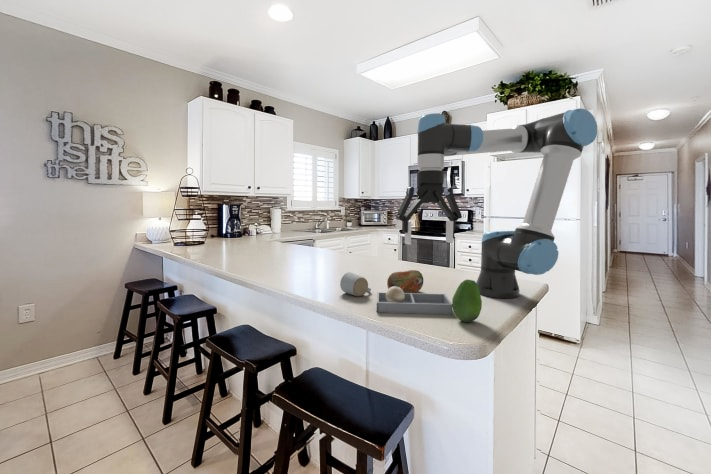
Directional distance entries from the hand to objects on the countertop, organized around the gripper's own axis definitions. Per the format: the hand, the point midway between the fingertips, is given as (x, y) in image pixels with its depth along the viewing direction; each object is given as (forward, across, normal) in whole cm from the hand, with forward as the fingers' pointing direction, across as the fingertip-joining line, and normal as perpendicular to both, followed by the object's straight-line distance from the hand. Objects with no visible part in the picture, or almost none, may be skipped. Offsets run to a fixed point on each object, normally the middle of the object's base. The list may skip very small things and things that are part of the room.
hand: (428, 243), depth 97 cm
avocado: (+22, -7, +9) cm, 24 cm away
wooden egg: (+18, +7, -8) cm, 21 cm away
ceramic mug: (+22, +15, -26) cm, 37 cm away
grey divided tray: (+21, +2, -6) cm, 22 cm away
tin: (+22, -3, -22) cm, 31 cm away
